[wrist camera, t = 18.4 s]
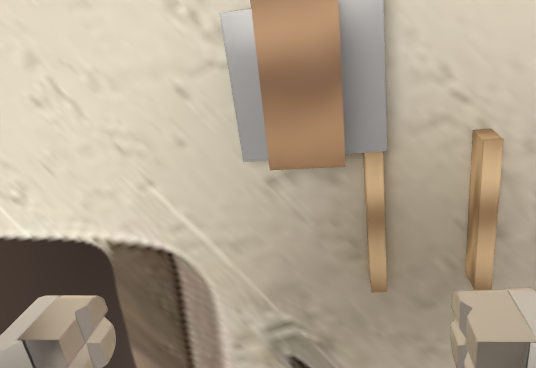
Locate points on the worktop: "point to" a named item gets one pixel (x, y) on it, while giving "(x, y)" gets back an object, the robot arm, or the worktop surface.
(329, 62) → the block
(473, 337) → the robot arm
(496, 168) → the oak shelf rails
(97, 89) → the worktop surface
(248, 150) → the slate plinth
